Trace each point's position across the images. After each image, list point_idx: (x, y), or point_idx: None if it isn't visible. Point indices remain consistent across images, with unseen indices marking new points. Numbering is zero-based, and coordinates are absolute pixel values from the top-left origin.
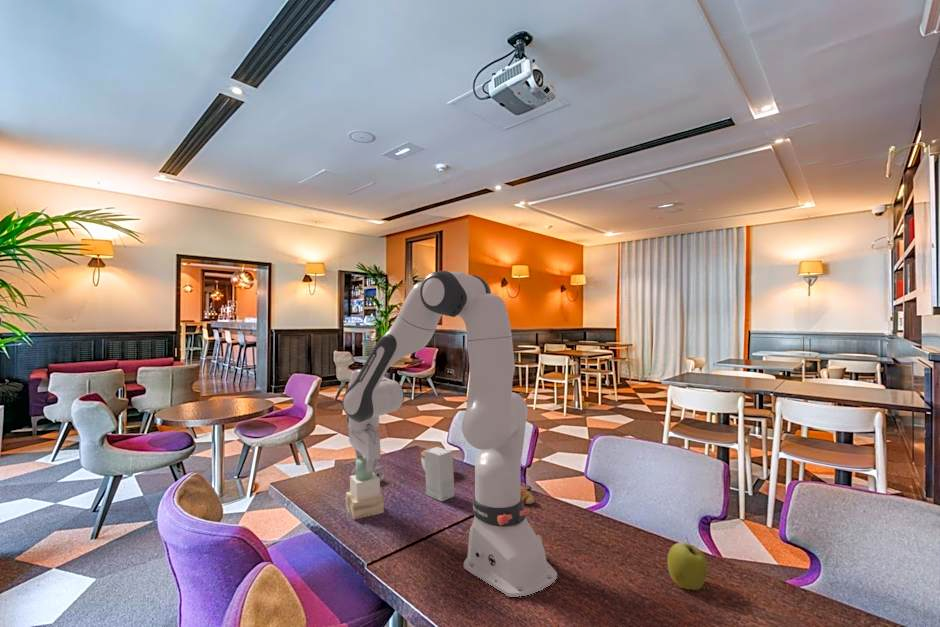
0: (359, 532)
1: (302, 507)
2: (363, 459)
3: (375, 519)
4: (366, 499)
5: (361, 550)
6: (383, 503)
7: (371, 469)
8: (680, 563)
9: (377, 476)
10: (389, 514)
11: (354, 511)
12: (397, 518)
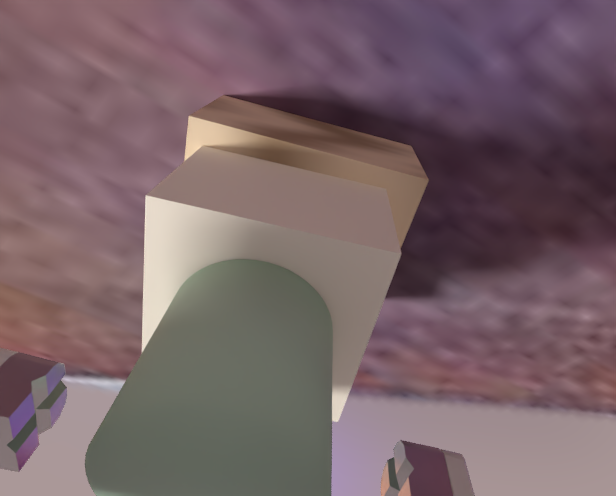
0: (484, 337)
1: (81, 370)
2: (151, 474)
3: (442, 226)
4: None
5: (609, 396)
6: (419, 165)
7: (461, 482)
8: None
9: (327, 237)
10: (462, 135)
11: None
12: (549, 131)
